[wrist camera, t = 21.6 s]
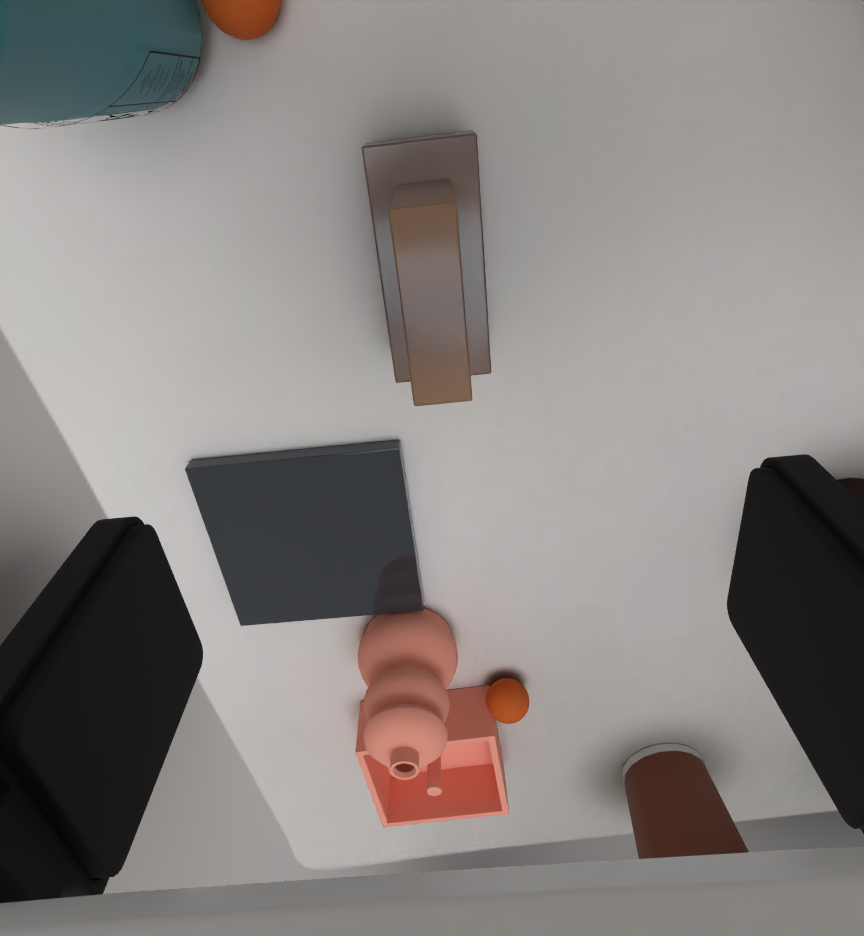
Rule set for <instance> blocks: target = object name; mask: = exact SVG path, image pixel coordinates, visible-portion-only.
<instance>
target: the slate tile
mask: <svg viewBox="0 0 864 936" xmlns="http://www.w3.org/2000/svg"><path fill="white" fill-rule="evenodd" d="M185 471H186V473H187V476H188V479H189V482H190V485H191V487H192V490H193V493H194V496H195V499H196V501H197V504H198V507H199V510H200V513H201V515H202V518H203V521H204V524H205V527H206V530H207V532H208V535H209V538H210V541H211V544H212V546H213V549H214V552H215V555H216V558H217V560H218V563H219V566H220V569H221V572H222V574H223V577H224V580H225V583H226V586H227V589H228V591H229V594H230V597H231V600H232V603H233V605H234V608H235V611H236V614H237V617H238V619H239V622H240V625H241V626H245V625H257V624H268V623H280V622H292V621H304V620H316V619H328V618H340V617H352V616H364V615H376V614H388V613H400V612H412V611H423V610H424V598H423V591H422V584H421V577H420V571H419V564H418V557H417V551H416V544H415V537H414V530H413V524H412V517H411V510H410V504H409V497H408V490H407V484H406V477H405V470H404V463H403V457H402V450H401V443H400V440H394V441H384V442H373V443H363V444H353V445H342V446H332V447H322V448H311V449H301V450H291V451H280V452H270V453H260V454H249V455H239V456H229V457H218V458H208V459H198V460H190V462H189V463H188V465H187V466H186V468H185Z"/></svg>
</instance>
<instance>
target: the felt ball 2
mask: <svg viewBox="0 0 864 936" xmlns="http://www.w3.org/2000/svg"><path fill="white" fill-rule="evenodd" d="M486 704H487V708H488V709H489V711H490V712H491V713H492V716H493V717H494V718H495V719H496V720H497V721H499V722H502V723H507V724H510V723H515V722H517V721H519V720H521V719H522V718H523V717H524V716H525V714H526V713H527V710H528V707H529V696H528V693H527V691H526V689H525V687H524V686H523V685H522V684H521V683H520V682H518V681H517V680H514V679H511V678H502V679H499V680H497V681H495V682H494V683H493V684H492V685H491V686H490V688H489V689H488V692H487V695H486Z"/></svg>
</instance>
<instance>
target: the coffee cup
mask: <svg viewBox="0 0 864 936" xmlns="http://www.w3.org/2000/svg"><path fill="white" fill-rule="evenodd" d="M622 777H623V781H624V785H625V790H626V795H627V800H628V805H629V810H630V815H631V821H632V826H633V831H634V835H635V841H636V846H637V851H638V856H639V859H647V858H664V857H681V856H698V855H715V854H732V853H749V852H748V850H747V848H746V846H745V844H744V842H743V840H742V838H741V836H740V834H739V832H738V830H737V828H736V826H735V824H734V822H733V820H732V818H731V816H730V814H729V812H728V810H727V808H726V806H725V804H724V802H723V800H722V798H721V797H720V795H719V793H718V791H717V789H716V787H715V785H714V783H713V781H712V779H711V777H710V775H709V773H708V771H707V769H706V767H705V764H704V762H703V760H702V758H701V756H700V754H699V752H697V751H696V750H694V749H692V748H691V747H689V746H685V745H680V744H675V743H670V744H657V745H654V746H651V747H648V748H645V749H642V750H640V751H639V752H637V753H636V754H634V755H633V756H631V757H630V758H629V759H628V760H627V762H626V763H625V765H624V766H623V772H622Z"/></svg>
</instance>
